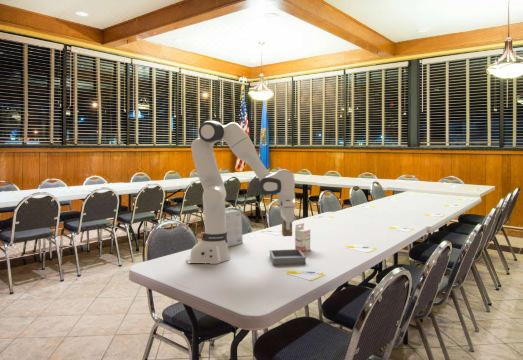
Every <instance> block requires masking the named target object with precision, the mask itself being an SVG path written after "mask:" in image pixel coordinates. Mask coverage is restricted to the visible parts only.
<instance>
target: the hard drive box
mask: <svg viewBox="0 0 523 360" xmlns="http://www.w3.org/2000/svg"><path fill="white" fill-rule="evenodd" d="M225 212H226V231H227V234H228V241H227V246H228V248H229V247H232V246H236V245H240V244H243V241H244V240H243V216H242V210H238V209H237V210H236V209H231V210H225Z"/></svg>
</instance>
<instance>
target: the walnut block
mask: <svg viewBox="0 0 523 360" xmlns="http://www.w3.org/2000/svg"><path fill="white" fill-rule="evenodd" d="M281 234H282V236H283V237H293V222H290V229H289V230H287V229H286V221H285V220H284V219H283V218H282V219H281Z"/></svg>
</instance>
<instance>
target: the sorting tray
mask: <svg viewBox="0 0 523 360" xmlns="http://www.w3.org/2000/svg"><path fill="white" fill-rule="evenodd" d="M306 258H307V257H306V256H305V254H304V252H301V250H300V249H295V248H294V249H293V248H292V249H270V250H269V259H270V260H271V261H270V262H271V264H272V266H273V267H274V266H292V265H293V266H295V265H306Z"/></svg>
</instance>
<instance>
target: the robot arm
mask: <svg viewBox="0 0 523 360" xmlns="http://www.w3.org/2000/svg"><path fill="white" fill-rule="evenodd" d="M198 135H199V137H197V138H195V139H194V140H193V141H192V142H191V144H190V145H191V146H190V147H191V148H190V150H191V154H192V155H191V156H192V160H193V163H194V167H195V171H196V173H197V178H198V180H199V182H200V184H201V186H202V189H203V193H202V207H203V216H204V231H201V233H200V237H201V238H200V239H201V240H199V241H198V242H197V243H196V244H194V246H193V247H192V248H191V250H190V255H188V256H187V257H186V263H187V262H190V263H205V265H206V263H210V264H209V265H215V264H216V265H217V264H221V263H223V262H227V261H229V260H231V256H230V252H229V247H228V246H227V241H228V234H227V231H226V212H225V211H226V198H227V191H226V187H225V184H224V182H223V178H222V176H221V173H220V170H219V167H218V163H217V159H216V156H215V152H214V145H216V144H218V143H219V142H221V141H224V142H225V143H226V144H227V145H228V147H229V149H230V150H231V152H232V153H233V154H234V155H235V156H236V158H238V159H239V160H240V161H242V162H244V163H245V164H247V165H248V166H249V167H250V168H251V170H252V171H253V172H254V174H255V175H256V177H257V179H259V180H258V181H259V182H258V189H259V191H260V193H261V194H262V195H265V196H272V195H277V205H278V206H279V208H280V217H281V218H282V219H284V220H285V221H286V229H287V230H289V229H290V222H292V223H293V222H294V219H295V207H296V193H295V187H296V184H295V183H296V182H295V175H294V172H293V171H292V170H290V169H283V168H281V169H280V168H279V169H278V170H276V171H275V172H273V173H271V172H270V171H269V170H268V169H267V168H266V166H265V164H264V163H263V162H262V160H261V159H260V157H259V155H258V152H257V150H256V147H255V145H254V144H253V141H252V140H251V138H250V137H249V135H248V134H247V132H246V131H245V129H244V128H243V127H242V126H240V124H238V122H235V121H233V122H229V123H227V124H225V125H224V124H223V122H221V121H218V120H205V121H204V122H202V123H201V124H200V125H199V128H198ZM190 263H189V264H190Z"/></svg>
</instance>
